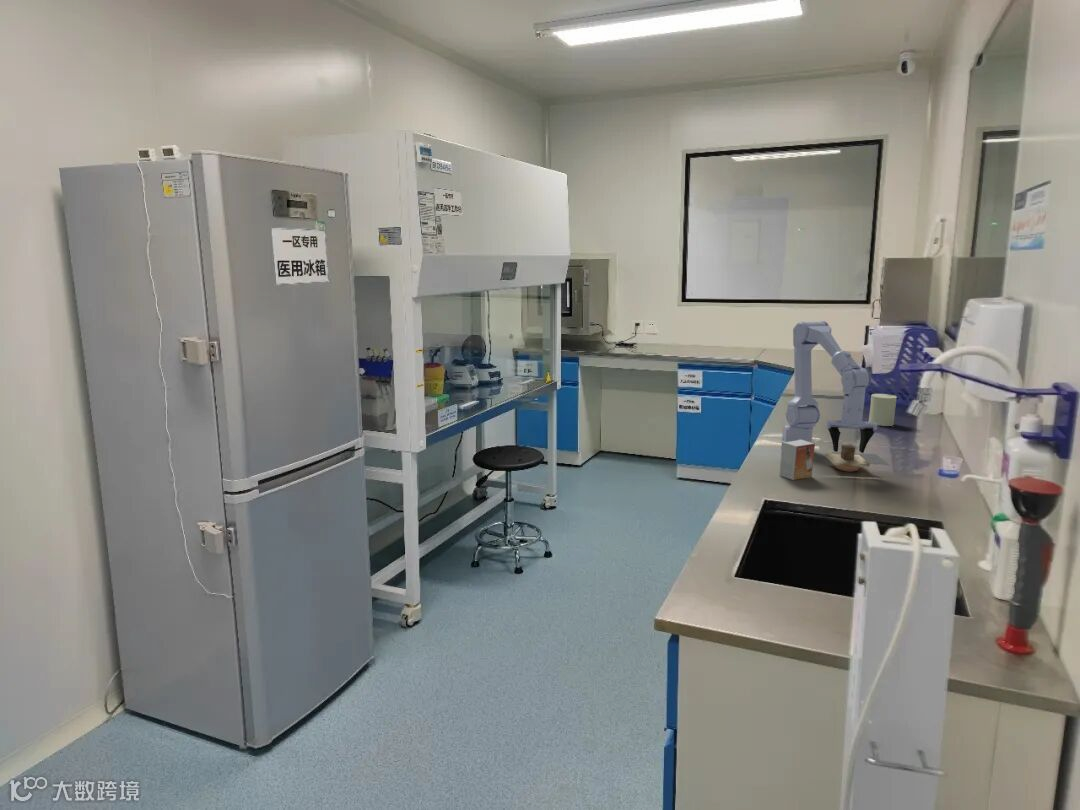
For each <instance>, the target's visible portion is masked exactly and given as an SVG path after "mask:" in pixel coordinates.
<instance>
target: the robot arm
mask: <svg viewBox="0 0 1080 810" xmlns="http://www.w3.org/2000/svg"><path fill="white" fill-rule="evenodd" d="M792 334H793V335H792V337H793V338H792V340H793V341H792V342H793V356H794V357H793V358H794V359H793V364H794V365H793V366H794V376H793V377H794V397H793V398H792V399H790V401H788V402H787V409H786V412H785V419H786V421H787V423H788V424H787V425H784V426H783V427H782V433H781V445H780V448H781V449H782V442H790V441H796V440H804V441H808V442H811V443H813V433H814V427H816V425H817V424H819V423H818V422H819V421H820V419H821V412H820V409H819V402H818V401H817V400H816V399H815V398H813V389H812V388H813V386H812V384H813V383H812V382H813V381H812V379H813V377H812V350H813V349H814V348H815V347H816V346H818V345H820V347H822V348H823V349H824V350H825V351H826V352H827V353H828V355H829V356H830V357H831V361H830V362H831V364H832V366H833V367H834V368H835V370H836V371H837V372H838V373H839V375H840V382H841V385H842V393H843V403H842V410H841V419H840V420H826V421H825V425H824V426H825V428H826V429H827V430H828V432H829V435H830V438H831V441H832V447H833V449H832V450H833V452H836V453H839V440H840V436H841V431H840V429H849V430H850V429H852V430H855V429H856V430H860V440H859V447H858V451H859V453H862V454H865V451H866V448H867V446H868V443H869V441H870V440H871V438H872V437H873V436H874V435H875V431H877V430H878V426H877V423H875V422H869V421H864V420H863V416H864V415H863V413H864V408H865V399H866V398H865V396H866V388H867V387H869V386H870V384H871V382H872V375H871V372H870V370H869V369H868V368H864V367H862V366H860V365H859V364H858V363H857V361H856V360H855V359H854V357H852V354H851V352H850V351H849V352H848V351H845V350H842V348H841V347H840V345H839V344H838V342H837V341H836V339H835V338H834V336H833V334H832V327H831V325H829V323H828V322H827V321H825V320H821V321H798V322H797V323H796V325H795V326H794V328H793V329H792Z"/></svg>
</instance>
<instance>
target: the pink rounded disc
mask: <svg viewBox="0 0 1080 810" xmlns="http://www.w3.org/2000/svg"><path fill="white" fill-rule="evenodd" d="M834 468H835V469H837V470H839V471H842V472H851V473H853V472H855V471H856V472H857V471H859V470H860V466H844V465H834Z"/></svg>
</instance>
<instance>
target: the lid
mask: <svg viewBox="0 0 1080 810" xmlns="http://www.w3.org/2000/svg"><path fill="white" fill-rule="evenodd" d="M840 453H841V454H833V453H825V458H827V460H829V461H830V462H831V463H832V464H833V465H834V466H835V465H844V466H859V467H870V465H871V464H869V463H868V462H867V461H866V460H864V459H863V458H862V457H861V456H860V455H854V454H855V453H856V447H855V446H854V445H853V444H841V450H840Z"/></svg>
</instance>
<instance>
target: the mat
mask: <svg viewBox="0 0 1080 810" xmlns="http://www.w3.org/2000/svg"><path fill="white" fill-rule="evenodd" d="M831 454H841V452H835V451H833V452H831ZM854 455H860V456H861V457H862V458H863V459H864V460H866V461H867V462H868V463H869V464H870V465H889V466H890V464H889V463H888V462H887V461H885V460H884V459H883V458H882V457H880V456H879V455H878V454H877V453H861V452H859V453H856V452H855V454H854Z"/></svg>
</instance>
